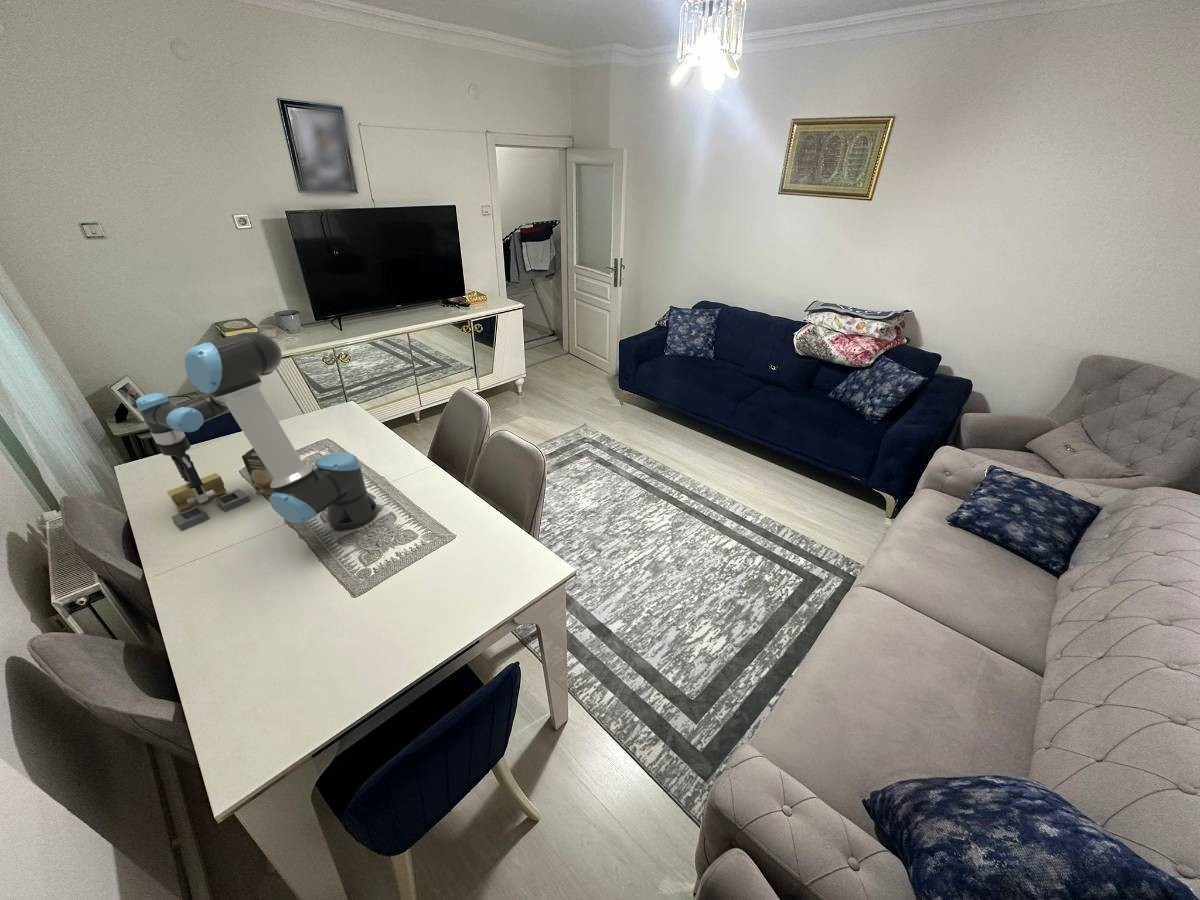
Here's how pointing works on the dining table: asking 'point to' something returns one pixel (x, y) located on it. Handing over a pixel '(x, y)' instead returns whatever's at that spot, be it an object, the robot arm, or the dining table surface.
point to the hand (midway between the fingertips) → (201, 498)
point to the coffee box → (258, 473)
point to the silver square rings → (203, 516)
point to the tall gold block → (185, 493)
